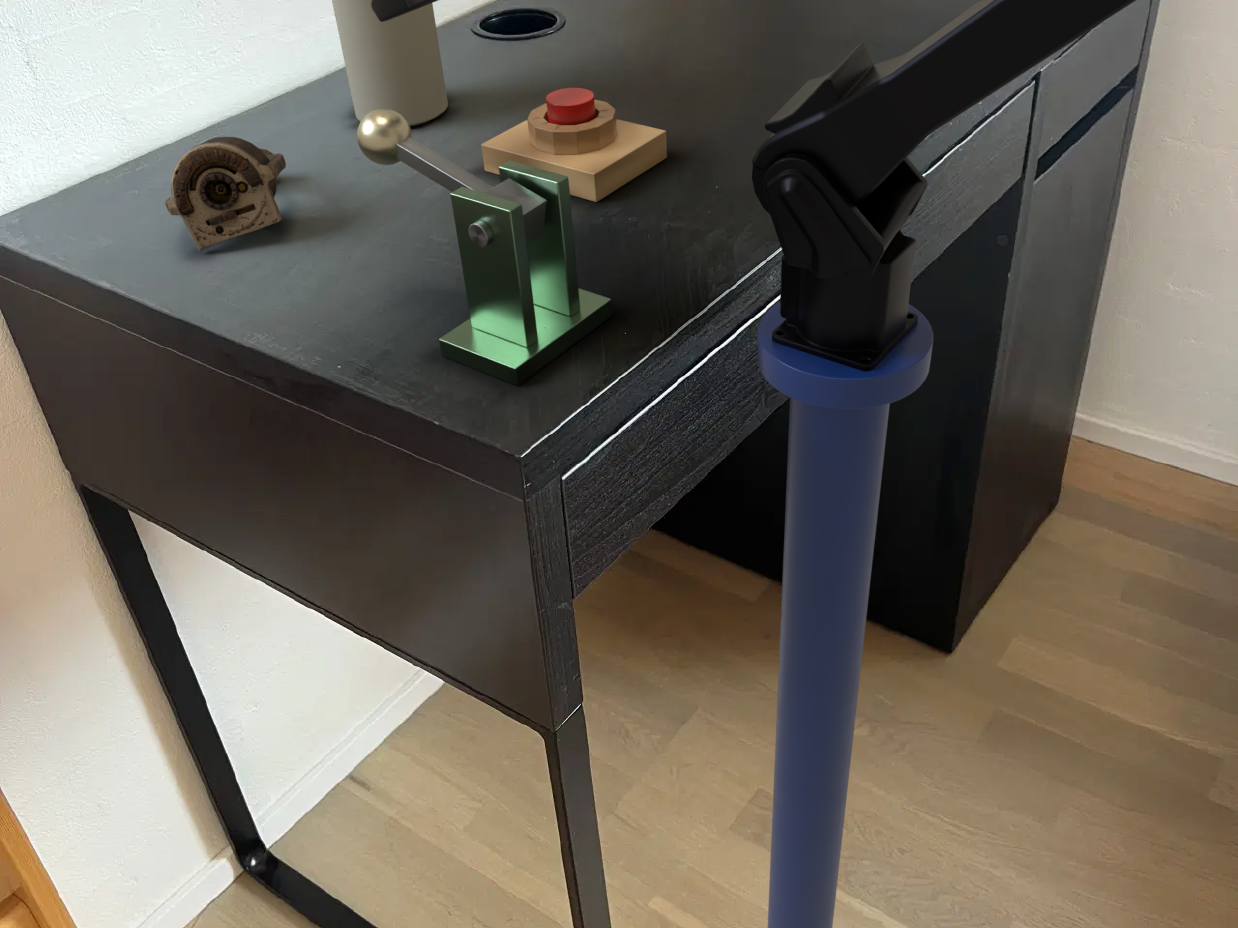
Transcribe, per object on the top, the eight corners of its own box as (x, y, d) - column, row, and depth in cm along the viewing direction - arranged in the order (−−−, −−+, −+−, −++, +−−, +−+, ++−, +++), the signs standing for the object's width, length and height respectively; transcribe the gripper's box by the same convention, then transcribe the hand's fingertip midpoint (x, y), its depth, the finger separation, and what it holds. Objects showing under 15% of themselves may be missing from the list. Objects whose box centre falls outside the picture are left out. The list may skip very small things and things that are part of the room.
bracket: (441, 356, 68) (413, 204, 62) (538, 290, 73) (521, 145, 67) (517, 386, 65) (496, 229, 59) (612, 315, 70) (601, 165, 64)
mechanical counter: (103, 184, 77) (226, 157, 74) (186, 96, 86) (298, 69, 83) (161, 271, 82) (279, 250, 79) (234, 179, 91) (342, 156, 88)
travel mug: (459, 119, 97) (424, -113, 86) (366, 138, 95) (318, -98, 84) (435, 89, 103) (400, -131, 92) (348, 106, 101) (301, -117, 90)
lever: (346, 158, 68) (344, 110, 66) (385, 139, 70) (385, 92, 68) (511, 260, 64) (516, 213, 62) (547, 237, 66) (553, 190, 63)
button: (605, 115, 86) (603, 92, 85) (575, 132, 84) (573, 109, 83) (568, 106, 88) (566, 84, 87) (538, 123, 86) (535, 100, 85)
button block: (667, 157, 88) (665, 107, 86) (596, 202, 83) (592, 150, 80) (557, 130, 94) (552, 82, 91) (484, 171, 88) (477, 121, 86)
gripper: (620, -326, 62) (462, -131, 73) (377, -353, 49) (228, -109, 60) (726, -141, 63) (555, 24, 74) (516, -118, 50) (345, 78, 61)
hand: (432, 2), depth 67 cm, fingers open, 9 cm apart
